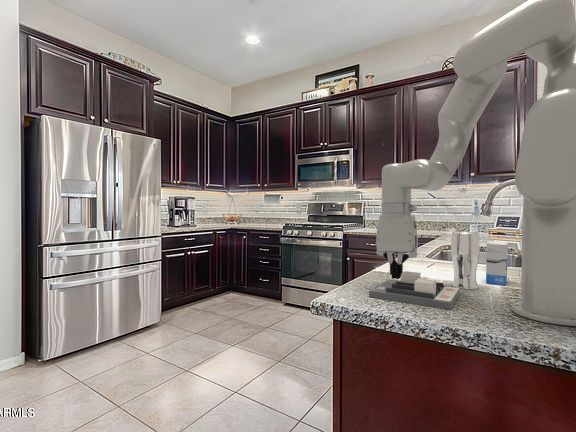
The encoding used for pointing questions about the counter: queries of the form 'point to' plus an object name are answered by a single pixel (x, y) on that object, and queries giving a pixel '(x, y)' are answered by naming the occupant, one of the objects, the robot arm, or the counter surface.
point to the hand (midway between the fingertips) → (396, 277)
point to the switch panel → (416, 294)
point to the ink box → (496, 262)
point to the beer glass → (465, 259)
